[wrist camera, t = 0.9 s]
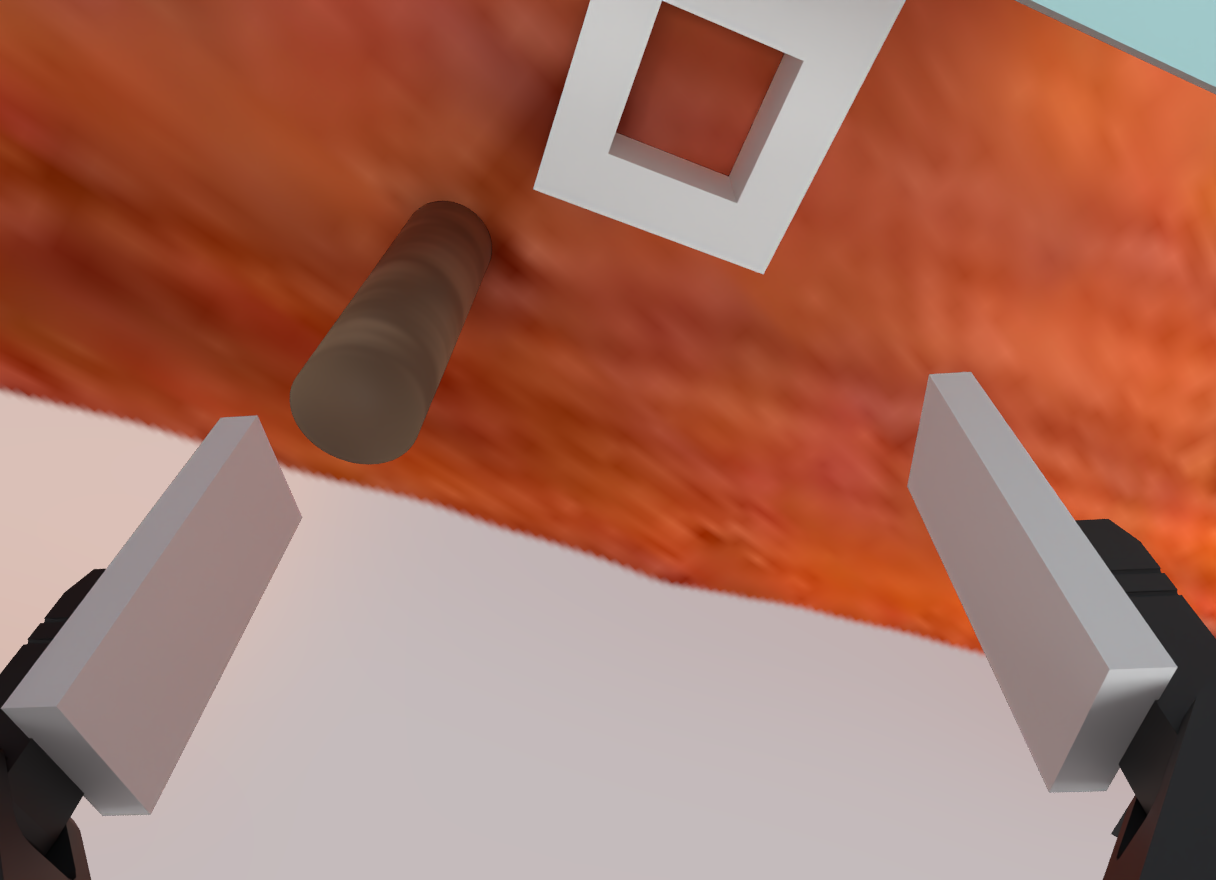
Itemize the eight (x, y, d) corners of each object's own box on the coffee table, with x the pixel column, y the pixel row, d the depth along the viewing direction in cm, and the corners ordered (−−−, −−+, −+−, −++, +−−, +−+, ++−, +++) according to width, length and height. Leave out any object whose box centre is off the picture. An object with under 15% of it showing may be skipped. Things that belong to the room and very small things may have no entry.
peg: (397, 268, 36) (283, 442, 24) (414, 188, 33) (297, 339, 22) (479, 296, 36) (406, 478, 25) (501, 219, 34) (431, 381, 23)
